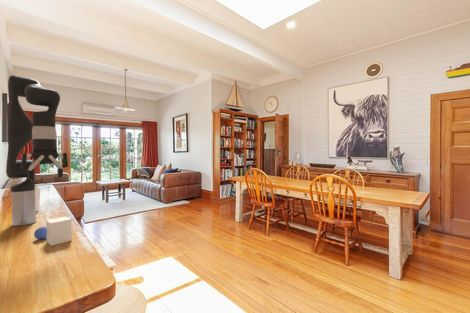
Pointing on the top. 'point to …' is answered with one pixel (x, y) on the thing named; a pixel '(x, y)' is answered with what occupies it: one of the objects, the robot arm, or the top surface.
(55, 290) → the top surface
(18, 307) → the top surface
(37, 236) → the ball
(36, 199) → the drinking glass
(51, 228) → the white block
